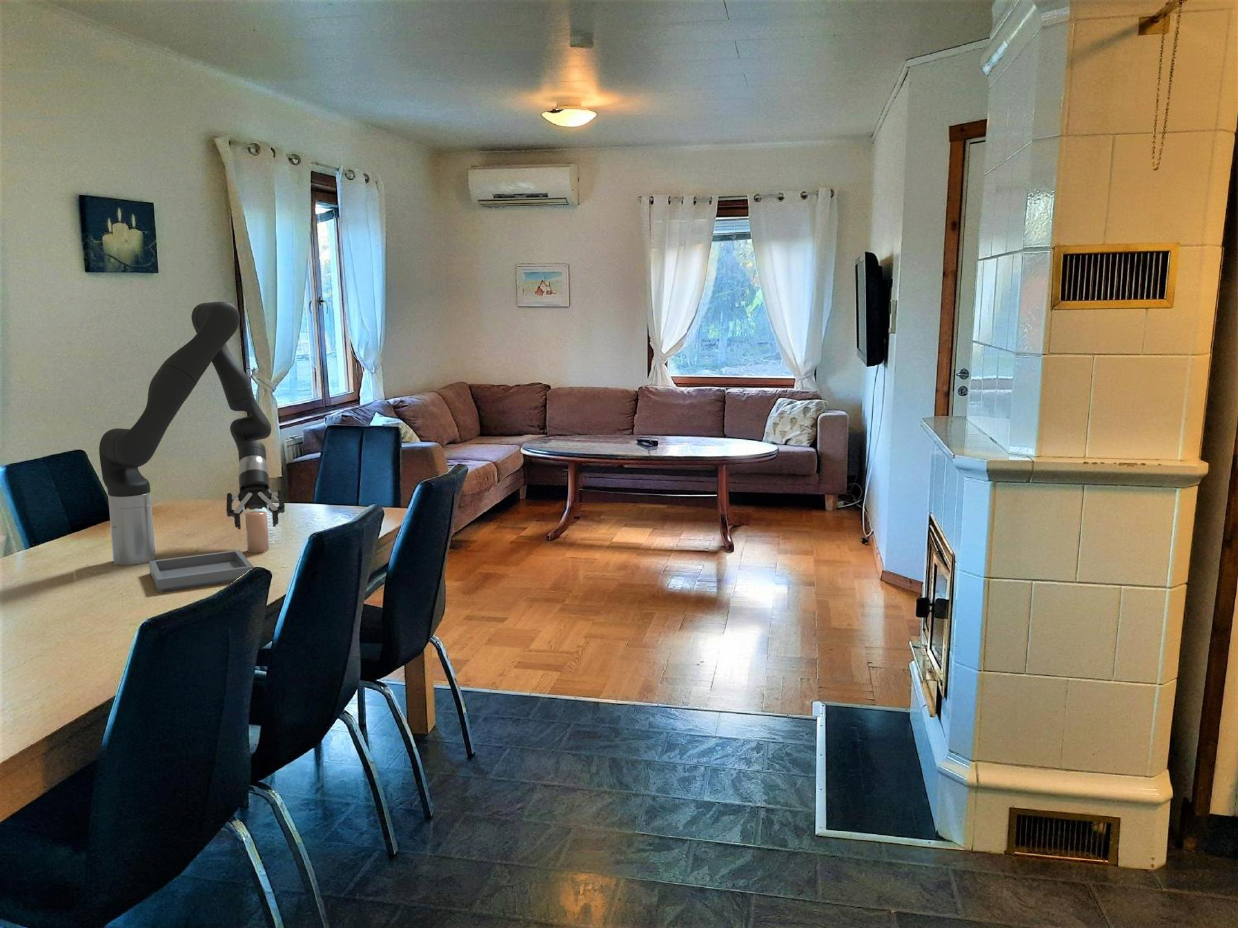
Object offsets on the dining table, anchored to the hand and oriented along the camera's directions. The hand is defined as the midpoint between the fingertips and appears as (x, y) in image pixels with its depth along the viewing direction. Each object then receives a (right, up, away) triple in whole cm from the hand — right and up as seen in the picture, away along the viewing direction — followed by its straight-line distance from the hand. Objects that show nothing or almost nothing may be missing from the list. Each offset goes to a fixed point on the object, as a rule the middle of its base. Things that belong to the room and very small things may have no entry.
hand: (257, 526), depth 229 cm
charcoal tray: (-4, -10, -23) cm, 25 cm away
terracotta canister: (0, -6, +1) cm, 6 cm away
